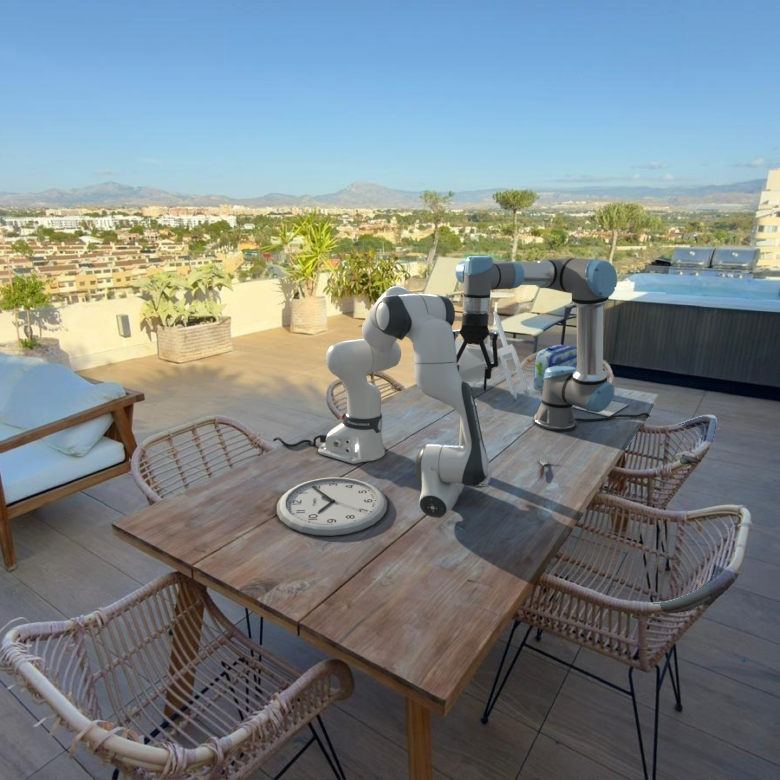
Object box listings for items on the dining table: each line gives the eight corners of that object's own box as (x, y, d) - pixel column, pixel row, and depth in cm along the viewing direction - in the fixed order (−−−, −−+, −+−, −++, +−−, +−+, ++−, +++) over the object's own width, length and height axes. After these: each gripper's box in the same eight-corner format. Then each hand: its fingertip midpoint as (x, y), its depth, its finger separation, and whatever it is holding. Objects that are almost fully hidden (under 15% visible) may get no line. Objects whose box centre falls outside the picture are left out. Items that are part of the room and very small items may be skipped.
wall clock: (392, 527, 129) (268, 531, 127) (391, 533, 130) (269, 537, 127) (383, 473, 158) (282, 475, 155) (383, 478, 158) (282, 480, 156)
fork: (536, 478, 160) (536, 472, 159) (540, 458, 174) (541, 452, 173) (545, 480, 159) (545, 474, 158) (548, 459, 173) (549, 453, 173)
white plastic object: (461, 429, 252) (437, 405, 227) (444, 352, 274) (420, 323, 250) (535, 404, 240) (518, 377, 215) (510, 326, 262) (492, 293, 237)
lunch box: (550, 397, 237) (555, 352, 231) (529, 391, 245) (533, 348, 238) (577, 386, 255) (582, 344, 249) (556, 381, 262) (561, 340, 256)
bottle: (465, 476, 161) (469, 409, 154) (453, 470, 165) (457, 404, 158) (476, 471, 164) (481, 405, 157) (464, 466, 168) (469, 401, 161)
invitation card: (608, 416, 214) (573, 407, 224) (608, 416, 214) (573, 408, 224) (628, 404, 229) (594, 396, 238) (628, 405, 229) (594, 397, 238)
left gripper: (487, 477, 140) (496, 457, 152) (415, 463, 147) (429, 445, 159) (485, 498, 142) (494, 476, 154) (414, 483, 149) (428, 464, 161)
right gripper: (512, 311, 151) (505, 386, 158) (441, 308, 155) (437, 382, 162) (512, 315, 144) (505, 394, 151) (438, 312, 148) (435, 389, 155)
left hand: (461, 460), depth 157 cm, fingers open, 8 cm apart
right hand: (470, 387), depth 156 cm, fingers open, 8 cm apart
